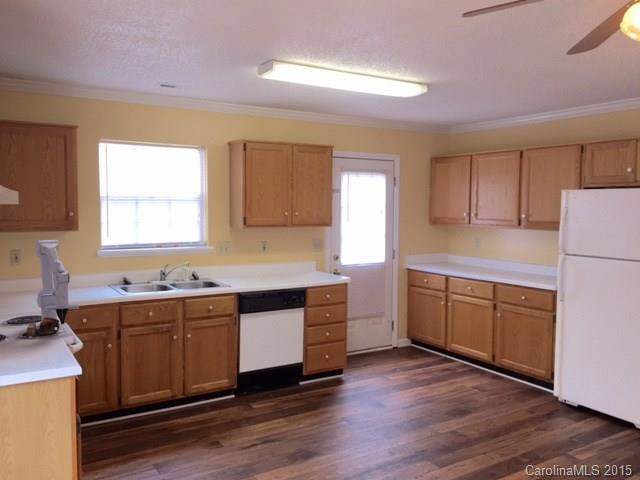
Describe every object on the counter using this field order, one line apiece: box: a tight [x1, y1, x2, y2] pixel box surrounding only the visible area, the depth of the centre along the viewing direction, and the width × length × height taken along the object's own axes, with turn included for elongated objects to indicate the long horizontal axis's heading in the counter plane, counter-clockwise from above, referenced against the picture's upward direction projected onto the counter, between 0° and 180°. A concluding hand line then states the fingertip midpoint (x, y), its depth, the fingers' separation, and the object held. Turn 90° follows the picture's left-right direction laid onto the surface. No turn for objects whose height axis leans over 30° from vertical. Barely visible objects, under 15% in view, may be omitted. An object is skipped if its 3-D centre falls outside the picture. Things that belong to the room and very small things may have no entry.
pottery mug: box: [37, 317, 60, 335], centre depth 261 cm, size 12×10×8 cm
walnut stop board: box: [26, 322, 37, 337], centre depth 259 cm, size 12×2×4 cm, turn 22°
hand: (62, 324), depth 264 cm, fingers closed
